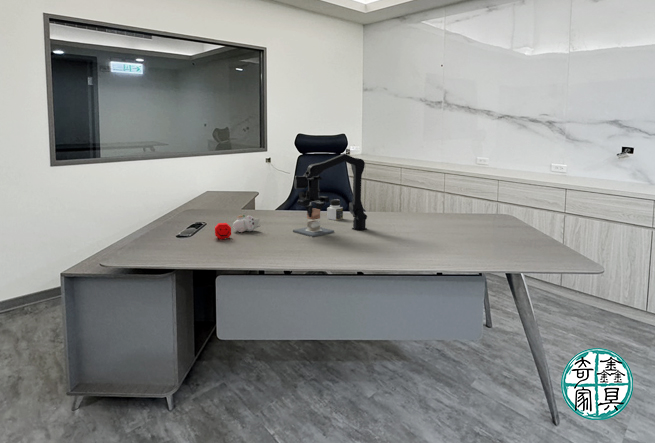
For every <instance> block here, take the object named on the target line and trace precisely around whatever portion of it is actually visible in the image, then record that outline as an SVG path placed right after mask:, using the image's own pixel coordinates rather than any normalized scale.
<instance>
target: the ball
mask: <svg viewBox="0 0 655 443" xmlns="http://www.w3.org/2000/svg"><path fill="white" fill-rule="evenodd" d="M214 234H215V237H216V238H218V239H219V240H226V239H225V238H228V239H229V238H230V237H231V236H232V226H230V225H229V223H227V222H219V223H217V224H216V225H215V227H214Z"/></svg>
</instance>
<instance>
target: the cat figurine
mask: <svg viewBox="0 0 655 443" xmlns="http://www.w3.org/2000/svg"><path fill="white" fill-rule="evenodd" d="M236 218H237V219H236V220H235V221H234V222H233V223H232V228H233V229H234V230H235V231H236V232H238V233H239V232H241V233H244V232H246V231H247V232H252V231H254V230H256V229H257V228H260V227H261V224H259V223H260V218H255V217H253V216H252V215H247V216H246V215H245V214H240V215H238V216H236Z"/></svg>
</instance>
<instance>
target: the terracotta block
mask: <svg viewBox="0 0 655 443" xmlns="http://www.w3.org/2000/svg"><path fill="white" fill-rule="evenodd" d="M306 218H307V219H309V220H319V219H321V211H320V209H316V207H315V208H314V207H313V209H312V215H311V217H309V215H308V212H307V211H306Z"/></svg>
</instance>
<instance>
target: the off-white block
mask: <svg viewBox="0 0 655 443" xmlns="http://www.w3.org/2000/svg"><path fill="white" fill-rule="evenodd" d="M306 227H307V230H309V231H318V230H320V227H321V221H319V220H318V219H315V220H312V219H309V220H307V221H306Z"/></svg>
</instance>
